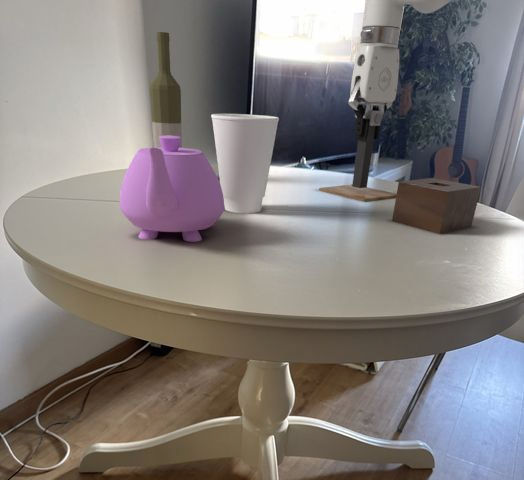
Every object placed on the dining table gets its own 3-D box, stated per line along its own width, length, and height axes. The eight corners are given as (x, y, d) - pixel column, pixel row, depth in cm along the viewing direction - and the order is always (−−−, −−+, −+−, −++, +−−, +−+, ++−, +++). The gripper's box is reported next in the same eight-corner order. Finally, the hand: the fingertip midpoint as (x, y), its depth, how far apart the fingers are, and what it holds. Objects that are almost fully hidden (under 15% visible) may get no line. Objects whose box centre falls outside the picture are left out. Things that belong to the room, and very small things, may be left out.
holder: (424, 215, 94) (431, 177, 90) (471, 227, 87) (481, 186, 83) (391, 221, 88) (398, 181, 85) (439, 234, 81) (449, 191, 78)
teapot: (215, 258, 64) (215, 147, 58) (99, 252, 64) (86, 141, 57) (229, 219, 83) (230, 133, 77) (140, 214, 83) (133, 128, 77)
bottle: (167, 181, 113) (159, 30, 99) (148, 177, 117) (139, 31, 103) (189, 178, 118) (185, 33, 104) (171, 174, 122) (165, 34, 108)
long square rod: (356, 184, 112) (366, 109, 105) (372, 188, 109) (384, 111, 101) (348, 185, 111) (357, 109, 103) (364, 189, 107) (375, 111, 100)
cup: (252, 200, 98) (255, 114, 91) (286, 213, 90) (292, 118, 82) (200, 205, 92) (199, 113, 85) (231, 218, 84) (233, 117, 76)
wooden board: (353, 186, 119) (353, 184, 119) (399, 197, 110) (399, 194, 109) (318, 190, 112) (319, 187, 112) (364, 201, 103) (364, 198, 102)
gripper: (367, 34, 89) (353, 141, 98) (419, 42, 99) (402, 139, 107) (338, 36, 94) (327, 137, 103) (390, 44, 104) (376, 136, 112)
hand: (366, 137), depth 105 cm, fingers closed on long square rod, 2 cm apart
